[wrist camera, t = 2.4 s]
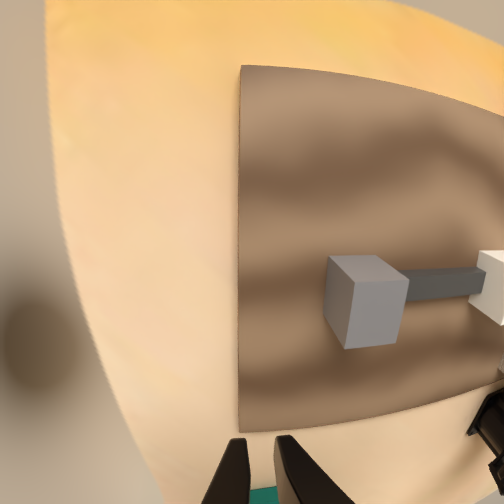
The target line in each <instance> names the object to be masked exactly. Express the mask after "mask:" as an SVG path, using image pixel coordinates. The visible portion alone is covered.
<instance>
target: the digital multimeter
mask: <svg viewBox="0 0 504 504" xmlns="http://www.w3.org/2000/svg"><path fill="white" fill-rule="evenodd" d="M250 504H279V499H278V491H277V486H276V487H269V488H262V489H256V490H250Z"/></svg>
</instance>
